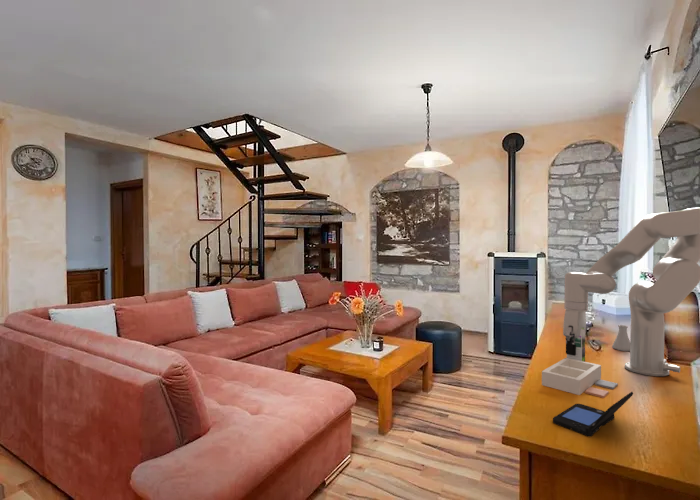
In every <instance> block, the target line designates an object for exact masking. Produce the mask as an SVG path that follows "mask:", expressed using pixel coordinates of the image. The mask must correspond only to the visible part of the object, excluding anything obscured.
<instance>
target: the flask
mask: <svg viewBox="0 0 700 500" xmlns="http://www.w3.org/2000/svg"><path fill="white" fill-rule="evenodd" d="M611 348H612V349H614V350H618V351H624V352H630V337H629V335H628V326H627V325H623V324H619V325H618V331H617V335H616V337H615V339H614V341H613V343H612V346H611Z"/></svg>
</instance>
